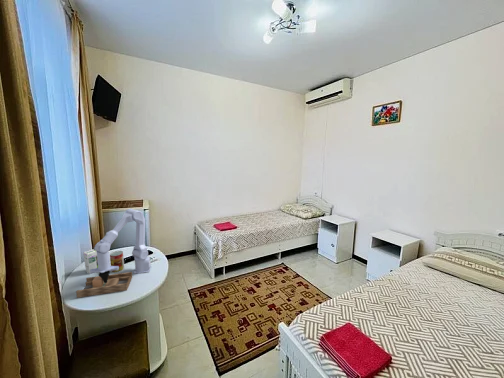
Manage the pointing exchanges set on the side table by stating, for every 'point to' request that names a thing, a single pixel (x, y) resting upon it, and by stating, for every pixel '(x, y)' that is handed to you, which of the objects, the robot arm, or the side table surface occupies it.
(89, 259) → the syrup box
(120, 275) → the trap lane
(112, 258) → the canned food
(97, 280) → the terracotta block
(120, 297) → the side table surface
